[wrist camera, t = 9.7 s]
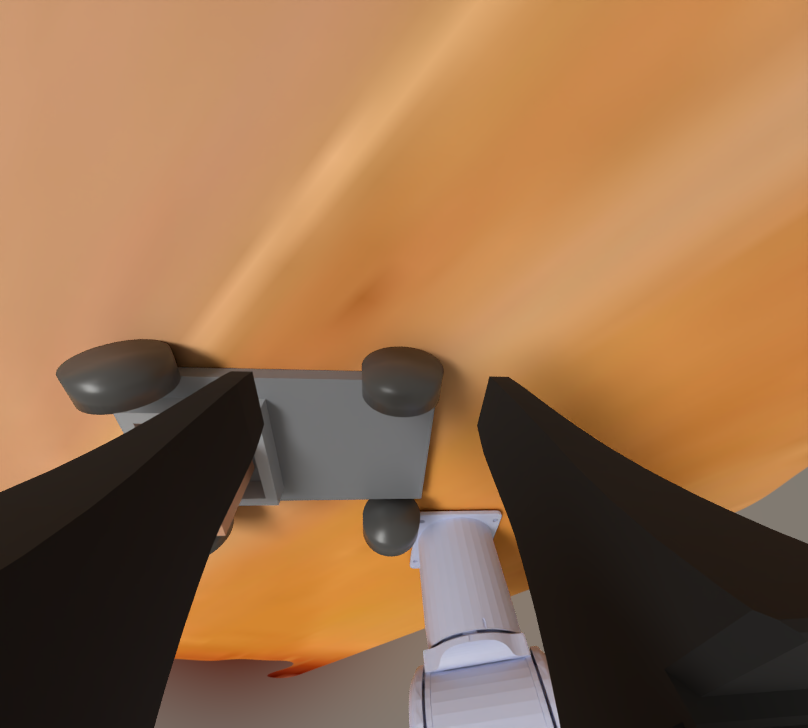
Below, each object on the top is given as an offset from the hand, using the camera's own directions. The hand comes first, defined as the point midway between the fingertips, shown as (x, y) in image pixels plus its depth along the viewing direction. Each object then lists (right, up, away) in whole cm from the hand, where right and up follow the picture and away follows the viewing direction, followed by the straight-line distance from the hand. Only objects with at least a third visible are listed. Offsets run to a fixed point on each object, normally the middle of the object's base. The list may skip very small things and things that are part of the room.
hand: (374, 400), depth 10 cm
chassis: (-7, -4, +13) cm, 16 cm away
